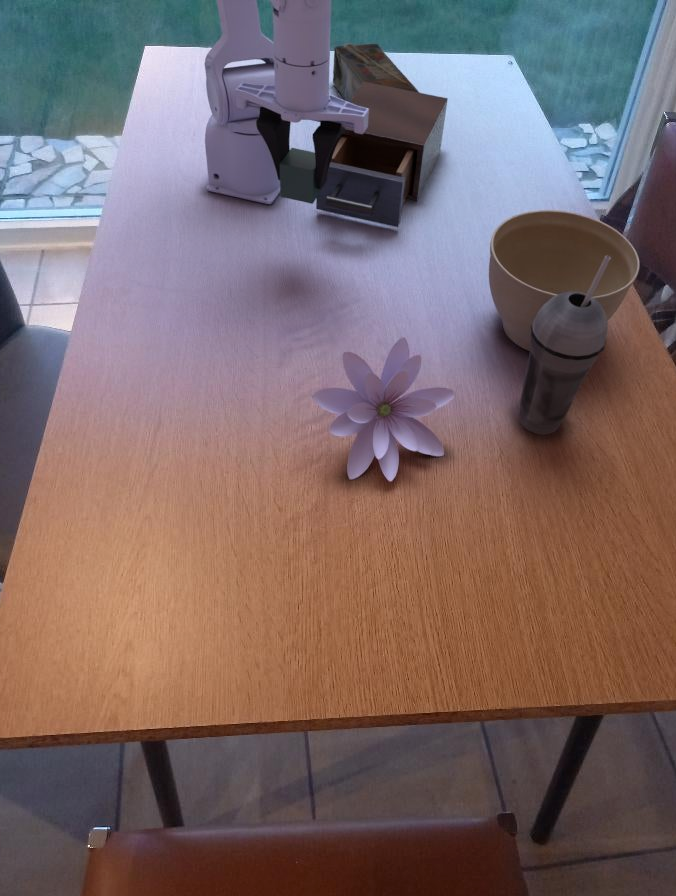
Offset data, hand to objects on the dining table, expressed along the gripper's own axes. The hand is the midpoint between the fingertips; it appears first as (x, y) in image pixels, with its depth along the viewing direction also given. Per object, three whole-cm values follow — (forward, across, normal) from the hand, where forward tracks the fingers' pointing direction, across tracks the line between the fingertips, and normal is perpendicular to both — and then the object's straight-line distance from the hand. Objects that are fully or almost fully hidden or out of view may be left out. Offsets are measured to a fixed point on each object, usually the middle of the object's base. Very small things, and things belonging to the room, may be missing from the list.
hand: (302, 180), depth 90 cm
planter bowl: (+10, +31, -3) cm, 33 cm away
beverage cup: (+10, +33, -18) cm, 39 cm away
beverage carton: (+11, -3, +43) cm, 44 cm away
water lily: (+10, +18, -28) cm, 35 cm away
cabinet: (+10, +4, +26) cm, 28 cm away
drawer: (+9, +4, +14) cm, 18 cm away
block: (+1, 0, 0) cm, 1 cm away
